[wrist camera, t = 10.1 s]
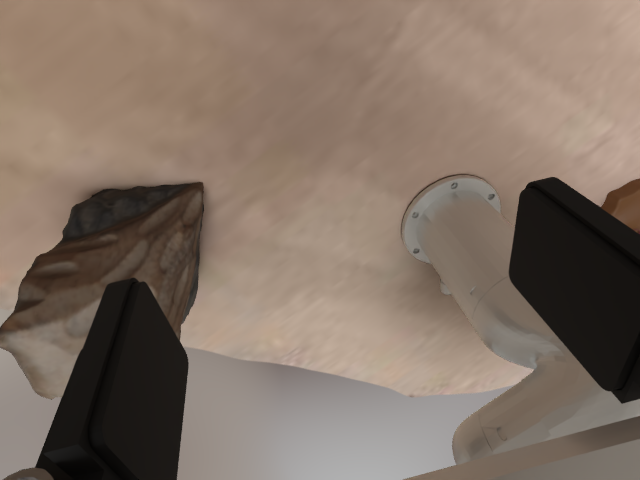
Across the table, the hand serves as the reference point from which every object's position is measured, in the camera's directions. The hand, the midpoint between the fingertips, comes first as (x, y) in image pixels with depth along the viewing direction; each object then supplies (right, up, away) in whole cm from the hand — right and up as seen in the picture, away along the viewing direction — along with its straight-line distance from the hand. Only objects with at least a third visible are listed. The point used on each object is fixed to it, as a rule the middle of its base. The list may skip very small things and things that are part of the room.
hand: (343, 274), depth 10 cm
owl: (-18, +3, +34) cm, 39 cm away
